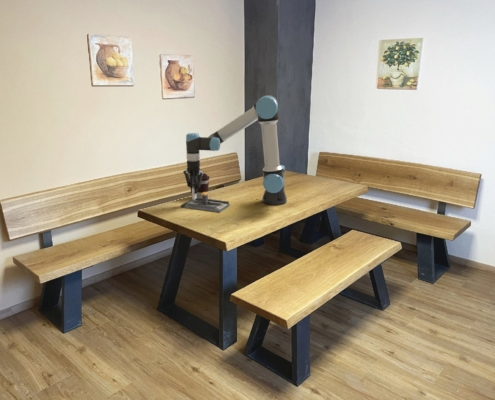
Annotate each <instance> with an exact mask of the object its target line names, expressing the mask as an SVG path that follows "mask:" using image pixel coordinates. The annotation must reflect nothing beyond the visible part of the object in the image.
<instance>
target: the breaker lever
mask: <svg viewBox="0 0 495 400" xmlns="http://www.w3.org/2000/svg"><path fill="white" fill-rule="evenodd" d="M201 195H202V204H206V205H207V204H208V199H209V191H208V192H203V193H202V194H201Z"/></svg>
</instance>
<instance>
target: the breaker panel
mask: <svg viewBox="0 0 495 400" xmlns="http://www.w3.org/2000/svg"><path fill="white" fill-rule="evenodd" d="M188 201H189V200H188ZM188 201H186V202H188ZM230 206H231V205H230V203H229V204H225V203H220V202H212V201H208V204H207V205H206V204H202V200H196V199H194V200H192V201H191V202H188V203H187V204H185V205H184V209H185V208H186V209H191V210H192V209H193V210H199V211H207V212H212V213H213V212H214V213H215V212H216V213H221V212H223V211H224V210H227V208H229V207H230Z"/></svg>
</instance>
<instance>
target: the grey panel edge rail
mask: <svg viewBox="0 0 495 400" xmlns="http://www.w3.org/2000/svg"><path fill="white" fill-rule="evenodd" d="M192 200H194V199H192V198H191V199H190V200H188V202H191V201H192ZM188 202H187V201H186V202H184V203H182V204H181V205H180V208H182V209H183V208H184V205H185V204H187V203H188ZM184 209H185V208H184Z"/></svg>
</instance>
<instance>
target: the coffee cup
mask: <svg viewBox="0 0 495 400" xmlns="http://www.w3.org/2000/svg"><path fill="white" fill-rule="evenodd" d="M198 178H199V174H198ZM209 180H210V176H209V175H208V174H206V173H204V174H203V176H202V181H201V186H200V187H199V188H198V193H197V194H196V195H197V198H202V195H201V194H202V193H203V192H208V193H209Z"/></svg>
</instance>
